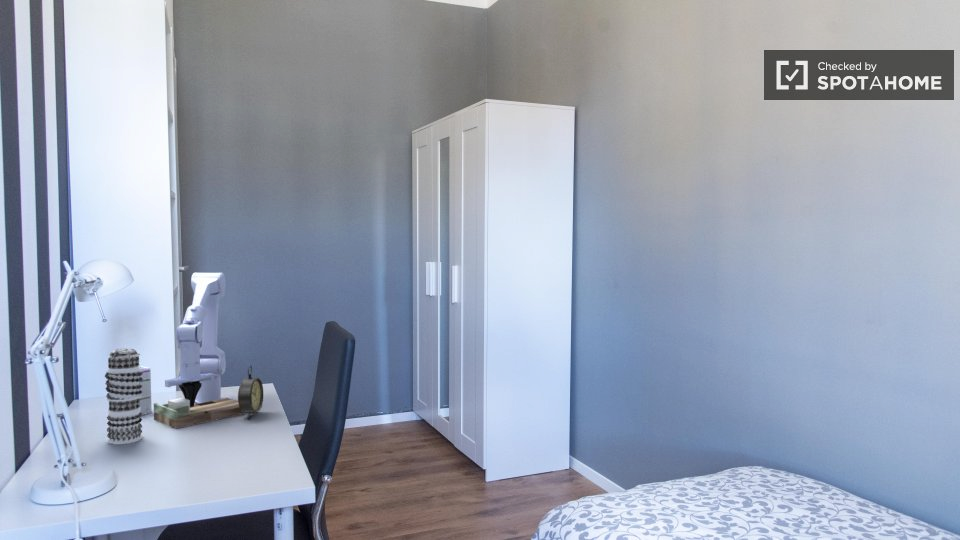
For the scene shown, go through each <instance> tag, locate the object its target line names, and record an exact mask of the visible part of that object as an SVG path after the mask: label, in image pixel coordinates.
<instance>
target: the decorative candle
mask: <svg viewBox="0 0 960 540" xmlns="http://www.w3.org/2000/svg"><path fill="white" fill-rule="evenodd" d="M140 356H141V353H138V352H137V350H135V349H134V348H117V349H114V350H111V352H110V353H109V355H107V356H106V358H107V359H108V360H107V362H108V363H107V365H108V366H107V371H106V373H105V374H104V378H105V379H106V381H105V385H106V387H105V390H106V392H107V394H106V401H108V410H107V416H106V419H107V420H108V421H107V423H106V424H107V426H108V427H107V429H106V432H107V434H106V437H107V443H108V442H109V443H108V444H110V443H113V444H112V445H125V444H131V443H135V442H138V441H141V439H142V438H143V436H142V433H143V430H142V428H143V425H142V423H141V422H142V421H143V419H142V416H143V415H142V413H141V407H140V397H141V393H142V391H141V390H139V389H140V388H141V387H142V385H140V384H139V382H140V381H142V380H143V379H142V378H141V377H139V376H141V375H142V372H139V371H140V366H141V365H140Z"/></svg>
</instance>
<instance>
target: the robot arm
mask: <svg viewBox="0 0 960 540" xmlns="http://www.w3.org/2000/svg"><path fill="white" fill-rule="evenodd" d="M190 279H191V280H190V283H191V284H190V285H191V288H192V291H193V299H192V304H191V305H189V306H188V307H187V309H186V311H185V314H184V318H183V321H182V323H181V324H180V325H178V326H177V328H176V335H175V336H176V341H177V348H178V349H179V376H178V377H174V378H170V379H165V380H164V387H166V388H172V387H175V386H176V387H177V386H178V387H179V389H180V391H181V393H182V394H183V398H185V399H188V400H190V407H194V404H197V403H202V402H208V401H213V400H218V399H223V398H222V395H221V394H222V392H221V390H222V388H221V385H222V382H221V381H222V380H221V379H222V378H221V376H222V375H223V374H224V373H226V367H227V360H226V353H225V351H224V350H223V349H221V348H220V347H219V346H218V328H219V327H218V326H219V308H220V301H221V300H220V299H222V298H224V297H225V295H226V294H225V293H226V285H227V284H226V276H225V273H223V272H222V271H221V272H193V273H192V275H191V278H190ZM200 345H201V346H200Z"/></svg>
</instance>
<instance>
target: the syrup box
mask: <svg viewBox="0 0 960 540" xmlns="http://www.w3.org/2000/svg"><path fill="white" fill-rule="evenodd" d="M139 372H142V375H141V376H139V377H141V378H142V379H143V380H142V381H140V382H139V384H140V385H142V387H141V388H140V389H139V390H141V391H142V393H141V397H140V407H141V413H142V414H143V415H146V414H145V413H147V414H150V413H149V412H151V413H152V411H153V409H152V379H151V378H152V376H151V375H152V373H151V367H146V366H142V365H140V371H139Z"/></svg>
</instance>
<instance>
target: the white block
mask: <svg viewBox="0 0 960 540" xmlns="http://www.w3.org/2000/svg"><path fill="white" fill-rule="evenodd" d="M167 404H168V408H171V409H174V408H179V407H184V406H189V413H190V400H188V399H185V397H179V398H172V399H167Z"/></svg>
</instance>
